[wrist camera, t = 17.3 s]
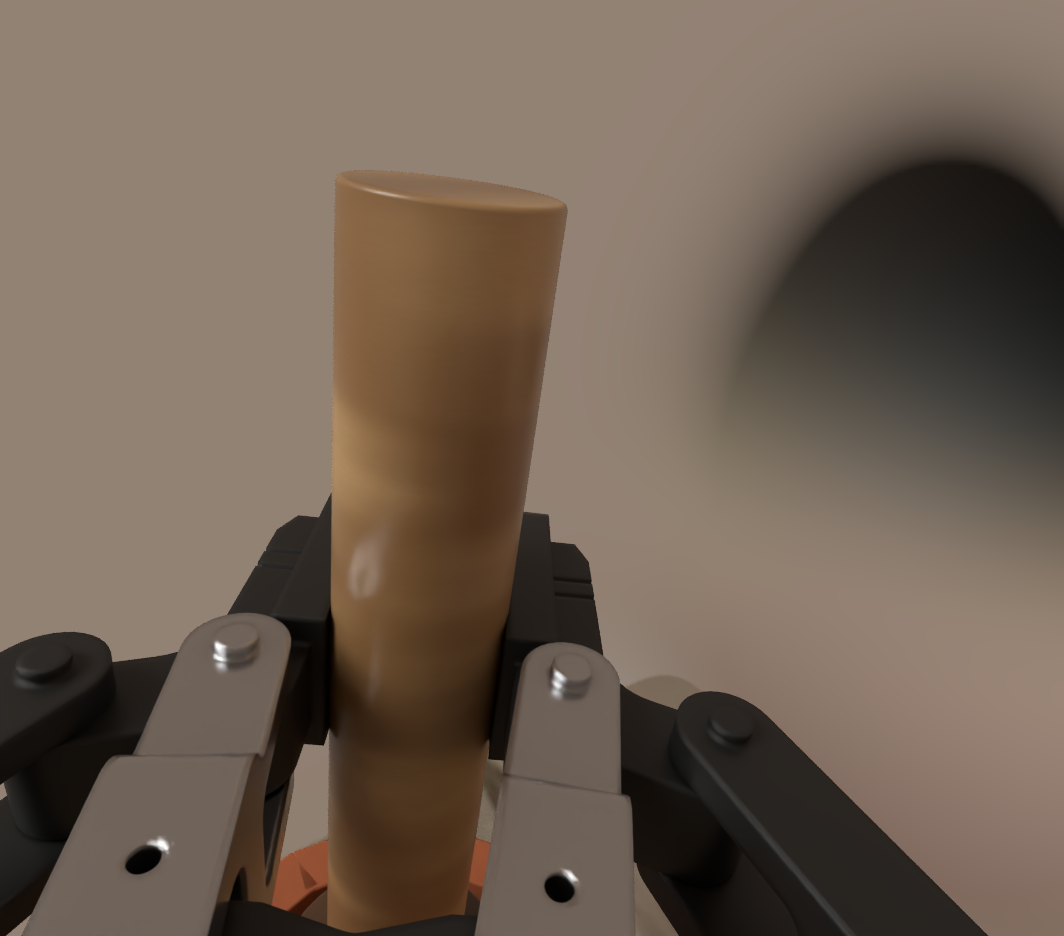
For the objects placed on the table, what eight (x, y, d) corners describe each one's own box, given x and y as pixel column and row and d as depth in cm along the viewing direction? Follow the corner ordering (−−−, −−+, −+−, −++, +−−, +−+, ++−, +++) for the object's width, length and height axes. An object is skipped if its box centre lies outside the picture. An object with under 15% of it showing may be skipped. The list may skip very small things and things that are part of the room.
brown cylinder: (231, 1168, 15) (117, 148, 6) (368, 979, 19) (414, 160, 10) (395, 1328, 13) (539, 242, 5) (512, 1088, 17) (715, 216, 8)
